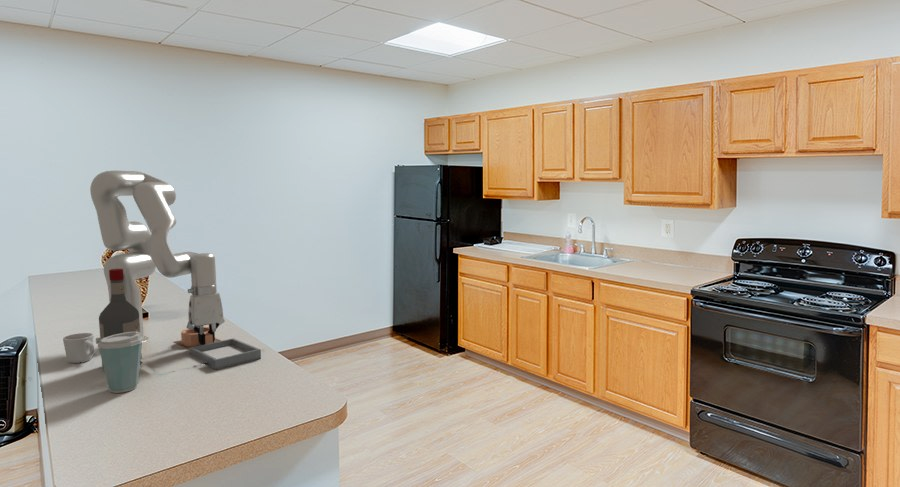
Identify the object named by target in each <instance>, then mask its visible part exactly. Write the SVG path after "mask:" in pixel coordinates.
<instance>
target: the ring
mask: <svg viewBox="0 0 900 487" xmlns="http://www.w3.org/2000/svg"><path fill="white" fill-rule="evenodd" d="M203 330H204V334H205V344H209V343H213V335H212V334H209V333H208V331H209V326H203ZM180 335H181V337H180V338H181V339H180V340H182V344H183V345H185V346H199V345H201V344H200V343H199V340H198V333H194V330H190V329H187V328H185V329H182V330H181V332H180Z"/></svg>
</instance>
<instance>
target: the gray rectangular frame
mask: <svg viewBox="0 0 900 487" xmlns="http://www.w3.org/2000/svg"><path fill="white" fill-rule="evenodd" d="M232 345H233V346H235V347H238V348H240V349H242V350H245V352H241V353H237V354H232V355H229V356H223V357H220V358H216V357H213V356H211V355H209V354H207V353H205V351H211V350H213V349H219V348H222V347H228V346H232ZM261 352H262V350H261V349H260V348H258V347H256V346H253V345H250V344H248V343H245V342H243V341H240V340H239V339H236V338H229V339H224V340H221V341H219V342H214V343H209V344H205V345H200V346H195V347H191V348H190V349H189V354H190V355H192V356H194V357H196V358H198V359H201V360H203V361H204V362H203V363H202V364H204V365H206V366H207V367H209V368H211V369H213V370H215V371H217V370H220V369H224V368H228V367H233V366H237V365H239V364H240V365H241V364H245V363H249V362H252V361H256V360H260V359H261V358H262V356H261V355H262V353H261Z"/></svg>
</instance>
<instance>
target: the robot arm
mask: <svg viewBox="0 0 900 487" xmlns="http://www.w3.org/2000/svg"><path fill="white" fill-rule="evenodd" d="M89 190H90V198H91V201H92V203H93V205H94V208H95V211H96V214H97V216H96V217H97V221H98V225H99V230H100V235H101V239H102V243H103V245H104V247H105V248H106V249H107V250H110V251H112V252H113V251H115V252H116V251H125V250H128V252H126V253H121V254H116V255H113V256H111V257H109V258H108V259H107V260H106V261H105V262H104V265H103V274H104V278H105V280H106V284H107V290H108V301H109V303H110V302H111V301H110V299H111V283H110V278H109V270H111V269H123V275H124V279H123V283H124V295H125V297H126V300H127V301H128V302H129V303H130V304H131V305H133V306H134V307H135V308H136V309H137V310H138V312H139V323H140V336H141V337H142V338H143V342H142V343H144V342H147V341H148V340H149V337H148V336H145V335H144V322H143V321H144V320H143V319H144V318H143V306H142V305H143V304H142V292H141V289H140V287H139V285H138V283H137V282H136V281H137V280H139V279H143V278H147V277H150V276H151V275H153V274H154V272H155V271H156V270H157V271H158V272H159V274H160V275H162V276H164V277H166V278H169V279H170V278H171V279H172V278H177V277H181V276H186V275H190V277H191V278H190V279H191V280H190V281H191V286H190V288H187V293H188V294H191V295H190V296H189V301H188V308H187V309H188V310H187V311H188V315H187V316H188V318H187V320H188V322H187V324H186V328H185V329H190V330H194V331H196V332H197V333H198V340H199V343H200V344H201V345H205V334H204V330H203V327H205V326H208V327H209V331H208V333H209V334H212V335H213V343H214V340H215V338H216V336H215V335H216V334H215V333H216V331H217V329H218V328H219V326H221V325H222V324H224V323H225V322H226V320H225V319H224V309H223V303H222V298H221V295H220V292H217V272H216V269H217V268H216V257H215V255H214V254H213V253H208V252H207V253H206V252H204V253H200V252H199V253H198V252H193V251H183V252H177V253H176V252H175V253H173V252H172V250H171V248H170V246H169V243H168V242H169V241H168V235H169V233H170V231H171V229H172V228H173V227H175V226H176V224H177V220H176V218H175V216H174V213H173V212H172V210H171V208H170V206H171V205H173V204H174V203H175V201H176V198H177V194H176V191H175V188H173V186H172V185H171V184H169V183H168V182H166V181H164V180H161V179H159V178H156V177H154V176H152V175H149V174H147V173H145V172H141V171H136V170H107V171H103V172H100V173H98V174H97V175H95V177H94V178H93V179H92V181H91V183H90V189H89ZM121 196H125V197H126V196H127V197H128V196H129V197H130V196H131V197H133V199H134V202H135V204H136V206H137V208H138V210H139V212H140V214H141V215H142V217H143V220H144V221H145V223H146V225H145V224H144V223H143V222H140V221H134V220H133V221H129V219H128V216H127V215H128V214H127V210H126V208H125V206H124V204H123V203H122V202H121V200H120V199H119V198H118V197H121ZM195 326H196V327H195ZM98 342H100V336H99V337H96V338H95V344H97V345H98Z"/></svg>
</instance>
